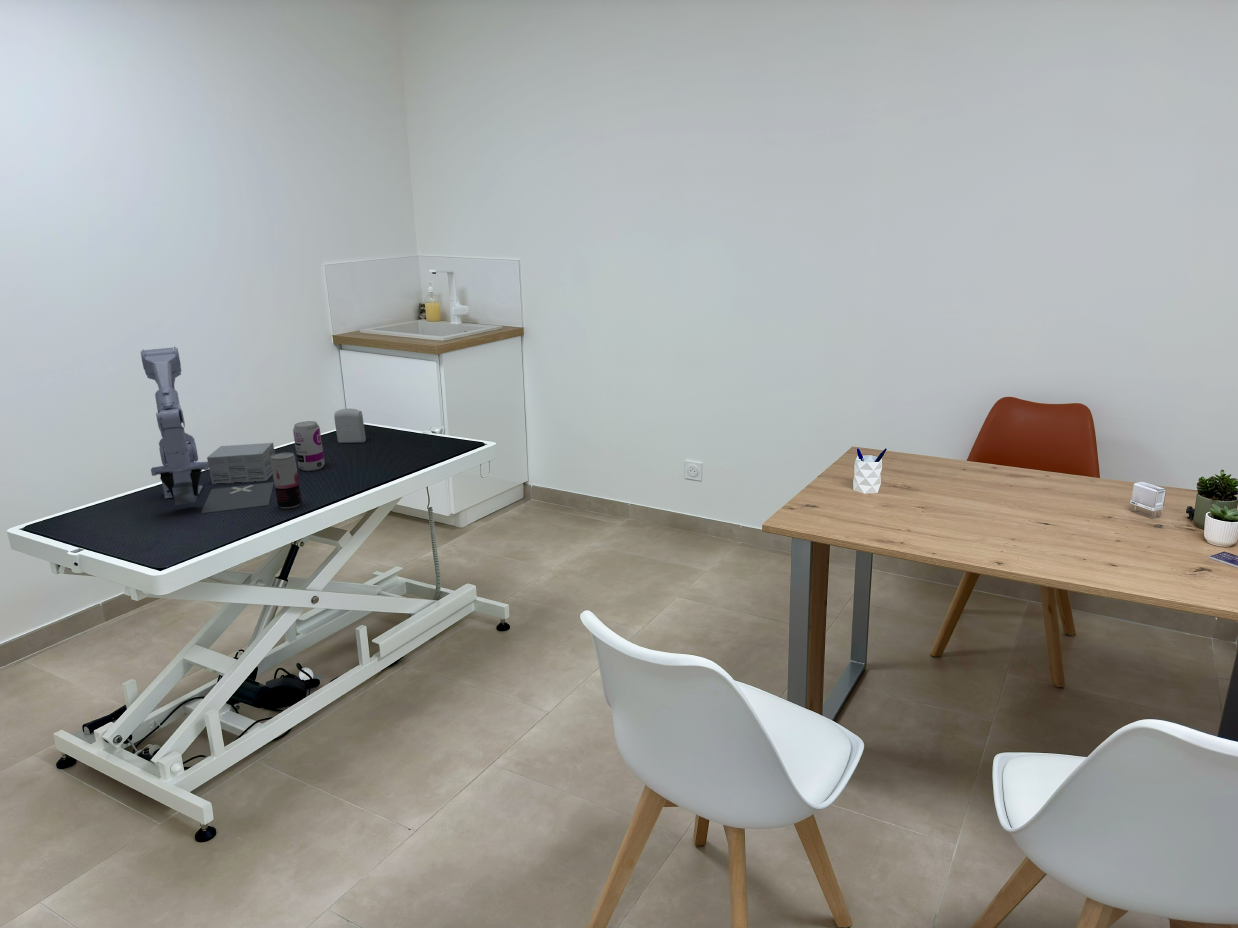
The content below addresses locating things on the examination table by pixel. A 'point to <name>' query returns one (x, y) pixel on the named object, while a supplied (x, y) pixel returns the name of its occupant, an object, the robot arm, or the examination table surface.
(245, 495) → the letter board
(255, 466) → the supplement box
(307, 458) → the supplement can
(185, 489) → the slate cube
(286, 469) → the beverage can
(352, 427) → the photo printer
